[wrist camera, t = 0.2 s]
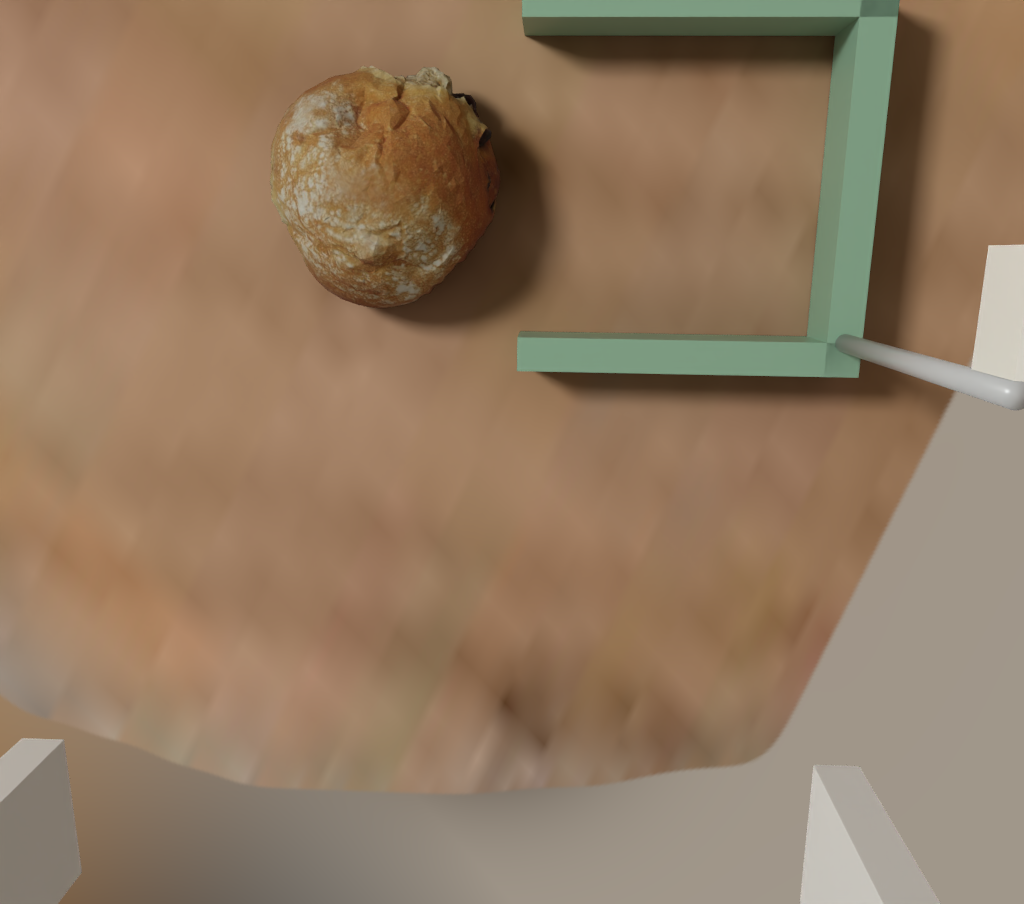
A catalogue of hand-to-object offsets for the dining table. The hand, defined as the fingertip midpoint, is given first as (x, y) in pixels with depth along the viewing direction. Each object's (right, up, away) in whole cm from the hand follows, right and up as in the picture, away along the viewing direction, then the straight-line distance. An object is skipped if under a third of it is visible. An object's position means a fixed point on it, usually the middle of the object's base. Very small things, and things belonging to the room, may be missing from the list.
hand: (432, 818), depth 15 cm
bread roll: (-4, +19, +24) cm, 31 cm away
